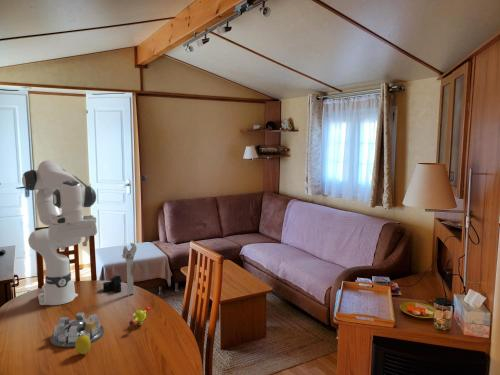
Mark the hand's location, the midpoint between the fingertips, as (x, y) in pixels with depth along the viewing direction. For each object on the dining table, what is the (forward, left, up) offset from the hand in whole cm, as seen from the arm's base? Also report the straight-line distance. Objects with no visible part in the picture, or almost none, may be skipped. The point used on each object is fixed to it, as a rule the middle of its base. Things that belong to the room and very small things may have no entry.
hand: (74, 247), depth 176 cm
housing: (+11, -4, -36) cm, 38 cm away
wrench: (-15, +33, -36) cm, 51 cm away
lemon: (+29, -8, -36) cm, 47 cm away
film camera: (-29, +30, -36) cm, 55 cm away
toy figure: (+20, +21, -36) cm, 46 cm away
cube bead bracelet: (+11, -4, -35) cm, 37 cm away
